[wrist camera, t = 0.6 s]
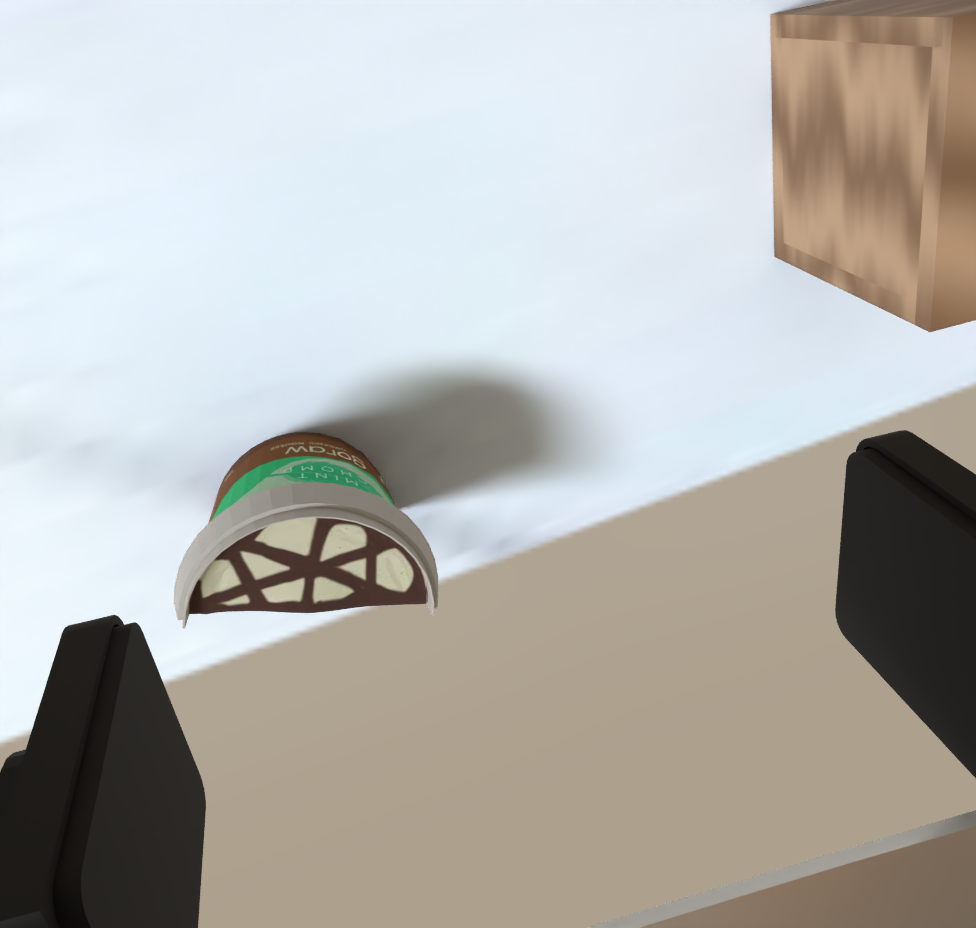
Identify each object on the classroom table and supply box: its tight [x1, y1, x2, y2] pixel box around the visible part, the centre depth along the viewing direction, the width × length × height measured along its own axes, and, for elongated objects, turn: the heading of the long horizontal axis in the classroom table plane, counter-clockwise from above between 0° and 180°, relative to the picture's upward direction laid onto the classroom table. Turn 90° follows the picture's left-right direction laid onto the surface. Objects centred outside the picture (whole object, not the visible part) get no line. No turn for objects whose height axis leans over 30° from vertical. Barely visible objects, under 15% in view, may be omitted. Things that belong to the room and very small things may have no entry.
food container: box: [174, 432, 438, 628], centre depth 44 cm, size 12×6×10 cm, turn 84°
